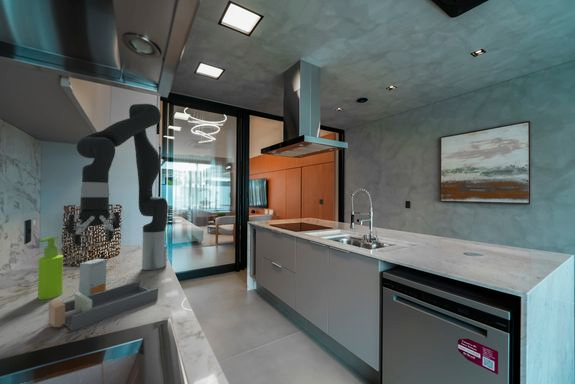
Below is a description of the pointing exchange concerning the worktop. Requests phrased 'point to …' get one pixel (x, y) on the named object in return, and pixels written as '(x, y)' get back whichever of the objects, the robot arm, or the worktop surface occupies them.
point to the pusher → (58, 311)
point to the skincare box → (92, 276)
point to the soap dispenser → (50, 271)
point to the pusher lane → (110, 304)
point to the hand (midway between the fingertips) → (93, 243)
